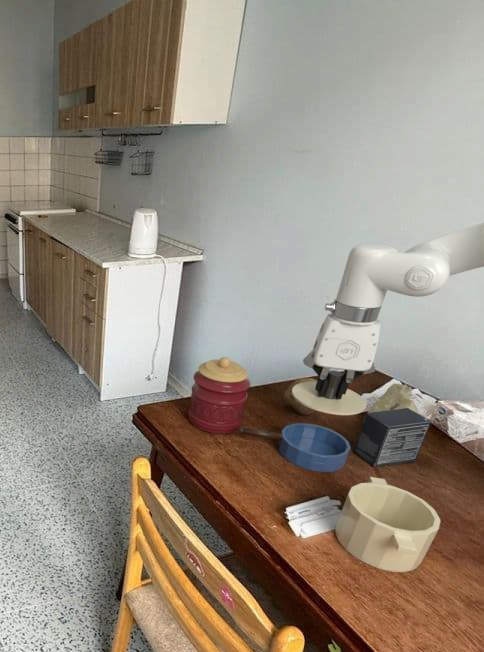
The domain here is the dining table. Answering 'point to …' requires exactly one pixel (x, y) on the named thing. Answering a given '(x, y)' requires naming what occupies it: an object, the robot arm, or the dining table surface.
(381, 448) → the small box
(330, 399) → the lid
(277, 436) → the pan handle
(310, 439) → the pan
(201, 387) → the kitchen canister
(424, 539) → the pot
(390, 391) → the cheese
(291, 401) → the brown lumpy rounded lump
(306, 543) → the dining table surface
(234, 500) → the dining table surface
